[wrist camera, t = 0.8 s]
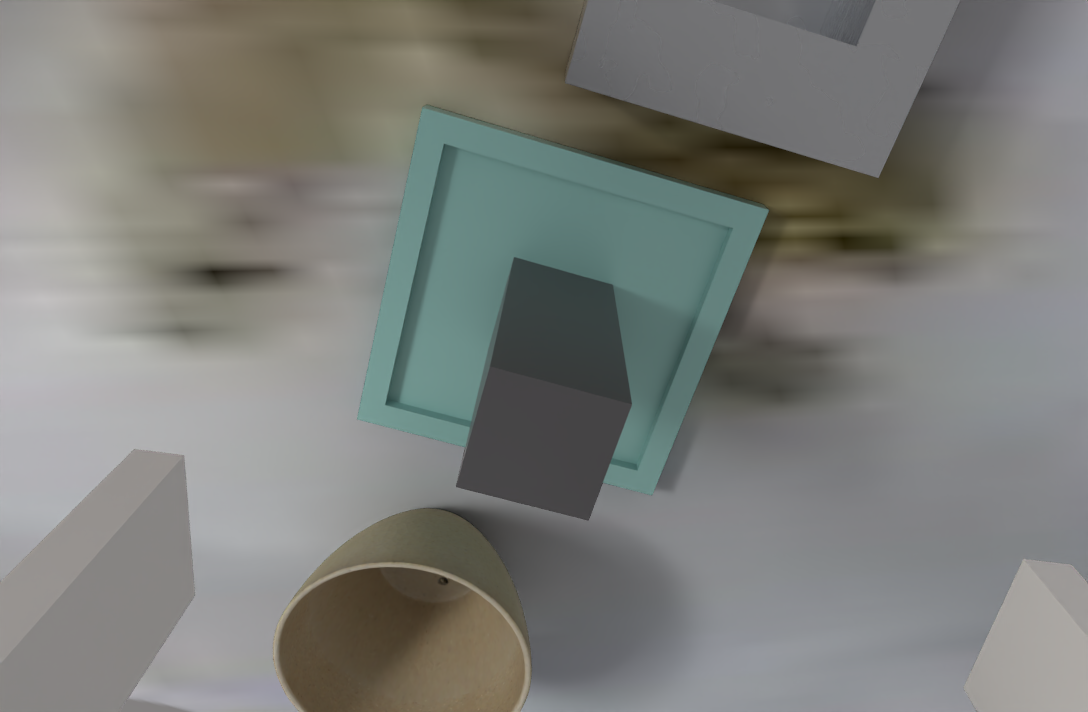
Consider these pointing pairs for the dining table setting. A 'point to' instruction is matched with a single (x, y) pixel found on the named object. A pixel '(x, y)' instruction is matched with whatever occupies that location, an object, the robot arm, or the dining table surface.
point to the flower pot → (407, 624)
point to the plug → (549, 393)
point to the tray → (559, 242)
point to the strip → (768, 67)
